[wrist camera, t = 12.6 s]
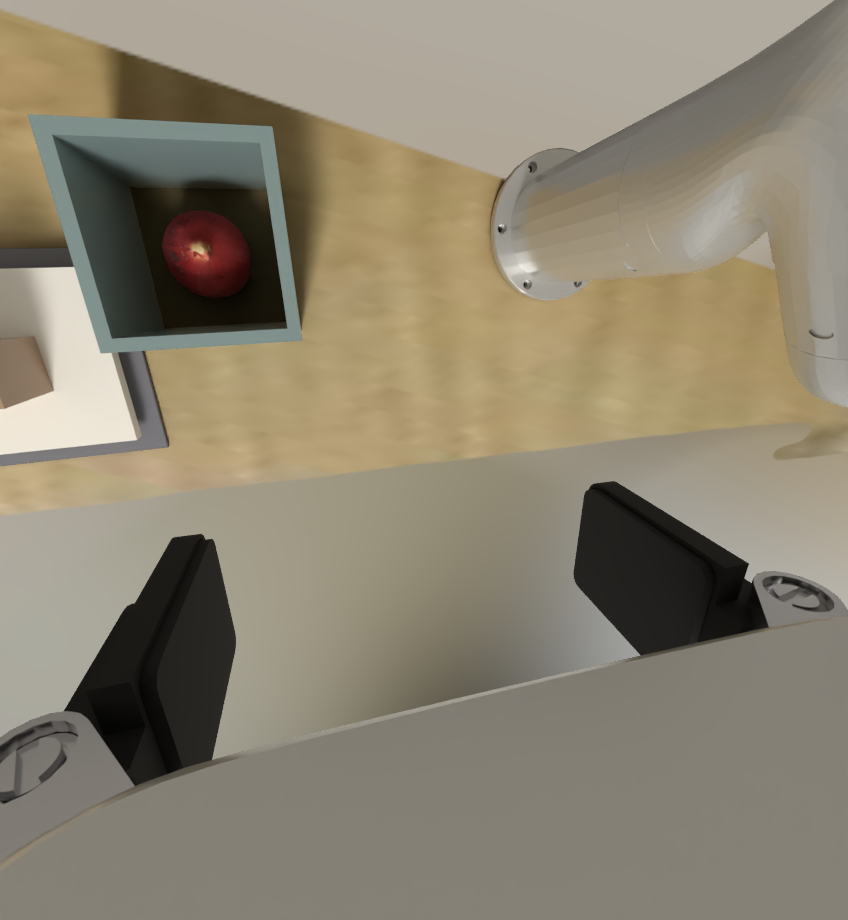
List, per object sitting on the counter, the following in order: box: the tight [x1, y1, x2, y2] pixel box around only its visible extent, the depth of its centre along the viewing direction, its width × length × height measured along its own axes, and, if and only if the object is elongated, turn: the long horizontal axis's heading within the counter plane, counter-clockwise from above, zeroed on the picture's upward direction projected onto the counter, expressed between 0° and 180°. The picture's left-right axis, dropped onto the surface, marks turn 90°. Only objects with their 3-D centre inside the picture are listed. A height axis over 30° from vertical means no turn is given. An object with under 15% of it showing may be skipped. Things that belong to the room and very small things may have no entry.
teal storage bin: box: [27, 114, 302, 353], centre depth 29 cm, size 12×12×11 cm
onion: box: [161, 210, 252, 298], centre depth 31 cm, size 6×6×8 cm
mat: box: [0, 248, 169, 466], centre depth 33 cm, size 16×16×1 cm
